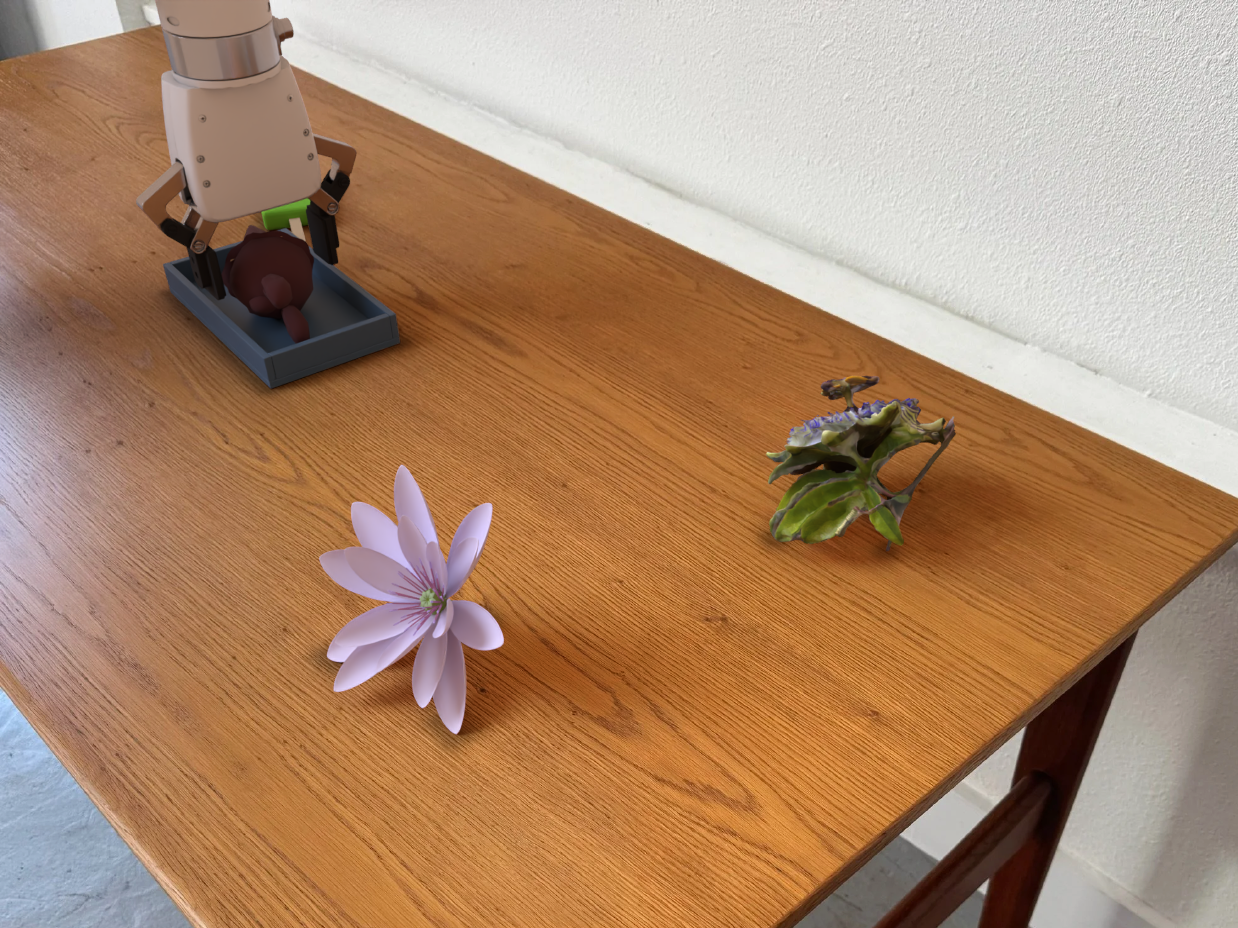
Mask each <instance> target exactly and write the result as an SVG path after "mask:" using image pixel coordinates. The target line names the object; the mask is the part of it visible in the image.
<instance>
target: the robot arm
mask: <svg viewBox="0 0 1238 928" xmlns="http://www.w3.org/2000/svg"><path fill="white" fill-rule="evenodd" d="M154 2H155V6H156V10H157V14H158V19H159V23H160V26H161V30H162V35H163V39H164V43H165V47H166V51H167V56H168V60H169V65H170V67H171V70H170V69H169V70H167V71H164V72H163V73H162V74H161V77H160V78H161V79H160V82H161V84H160V85H161V100H162V101H161V103H162V112H163V120H164V121H163V122H164V129H165V135H166V142H167V148H168V154H169V159H170V165H171V166H170V167H169V168H167V170H165V171H164V172H163V173H162V174H161V175H160V176H159V177H158V178H156V179H155V180H154V181H153V183H151V184H150V185H149V186H148V187H146V188H145V190H143V191H142V192H141V193H140V194H139V195H138V196H137V197H136V199H135V203H136V204H135V205H137V207H138V208H139V210H141V212H143V214H144V215H145V216H146V217H147V218H148V219H149V220H150V221H151V222H152V223H153V224H154V225H155V226H156V227H157V229H158V230H160V231H161V232H162V233H163V234H164V235H165V236H166V237H167V238H170V239H171V240H173V241H175V242H176V243H179V244H180V245H182V246H184V247H185V248H186V251H187V256H189V259H190V263H191V267H192V271H193V274H194V278H195V281H196V283H197V284H198V286H199V287H200V288H202V289H203V288H205V289H206V290H207V291H208V292H209V293H210V294H211V295H212V296H214V297H215V298H216V299H217V300H221V299H224V298H225V296H226V291H225V287H224V283H223V279H222V275H221V271H220V266H219V262H218V258H217V254H216V252H215V251H214V250H213V249H214V248H212V247H211V246H210V245H209V244H210V242H211V240H212V238H213V236H214V234H215V231H216V230H217V228H218V225H219V223H224V222H229V221H233V220H236V219H237V220H238V219H240V218H244V217H248V216H251V215H255V214H260V213H261V212H263V211H266V210H270V209H273V208H277V207H280V206H284V205H288V204H291V203H294V202H298V201H301V200H304V199H306V198H308V199H309V200H310V205H307V209H306V215H307V220H308V225H307V226H308V231H309V237H310V242H311V248H312V249H313V251H314V253H315V254H316V255H318V256H319V257H320V258H321V259H323V260H324V261H325V262H326V263H328V264H331V265H334V266H335V265H338V264H339V258H338V251H337V249H339V248H340V239H339V232H338V226H337V221H336V215H337V214H338V213H339V212H340V202H341V200H342V199H343V197H344V196H345V194H346V192H347V190H348V189H349V187H350V185H351V178H350V177H351V174H352V172H353V169H354V165H355V162H356V158H357V153H358V152H357V150H356V148H354V147H353V146H351V145H350V144H349V143H347V142H345V141H341V140H338V139H336V138H335V139H334V138H331V137H328V136H324V135H321V134H317V133H314V132H313V129H312V125H311V122H310V118H309V115H308V111H307V108H306V105H305V102H304V99H303V96H302V93H301V91H300V88H299V85H298V82H297V78H296V76H295V74H294V71H293V69H292V66H291V63H290V62H289V60H288V59H287V58H285V57H284V55H283V51H282V43H284V42H285V41H286V40H288V39H292V38H294V34H295V32H294V26H293V24H292V21H291V20H290V19H289V17H282V18H279V17H276V16H275V15H273V12H272V7H271V2H270V0H154ZM319 156H323V157H327V158H331V164H330V166H331V167H330V168H329V170H327V173H326V174H325V176H324V178H323V179H322V173H321V172H322V171H321V164H320V159H319ZM177 196H178V197H179V199H180V200H181V201H182V203H183V205H187V209H186V211H185V213H184V215H183V217H182V219H181V221H179V220H177V219H176V218H173V217H172V216H171V215H170V214H169V213H168V211H167V205H168V204H169V203H170V202H171V201H172V200H173V199H174V198H175V197H177Z"/></svg>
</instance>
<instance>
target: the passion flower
mask: <svg viewBox="0 0 1238 928" xmlns="http://www.w3.org/2000/svg"><path fill="white" fill-rule="evenodd" d="M879 383H880V376H878V375H873V376H871V375H862V376H861V375H850V376H848V377H846V376H845V377H843V378H840V379H835V378H834V379H828V380H825V381H823V382H822V383H821V384H820V389H821V392H820V395H821V396H822V397H827V399H828V401H829V400H830V401H834V400H839V399H840V400H841V399H843V398H844V400H845V402H846V408H845V409H844V410H843V411H842V412H839V411H837V410H836V411H835V413H832V412H831V411H827V414H828V416H820V415H819V414H817V415H816V416H815V417H813V418H812V419H800V421H801V422H804V423H803V426H792V427H791V429H790V431H789V433H788V435H789V437H787V440H785V441H786V444H784V449H785V450H782V451H779V452H770V451H767V452H765V456H766V457H767V458H768V459H769V460H771V461H773V462H774V463H778V465H777V466H776V467H774V469H773V470H772V472H771V473H770V474H769V476H768V480H767V483H768V485H772V484H773V482H775V481H776V480H778V479H779V478H781V477H783V476H788V475H791V476H798V477H797V479H796V481H795V482H793V483H792V485H790V487H788V489H787V490H786V491H785V492H784V494H783V496H782V498H781V500H780V501H779V503H778V505H777V507H776V508H775V513H773V515H772V517H771V518H770V519H769V522H768V525H769V531H770V533H771V534H770V535H771V536H772V537H773V538H774V540H775V541H776V542H779V543H787V542H793V541H801V542H802V543H804V544H806V545H815V544H819V543H822V542H826V541H828V540H831V539H833V538H835V537H836V536H837V537H838V538H843V537H844V536H845V535H846V532H847V529H848V527H850V526H851V525H852V524H853V523H855V522H856V520H857V519H858V518H859V517H861V516H863V515H868V519H869V522H870V523H871V525H873V528H874V530H875V531H877V533H879V534H880V535H882V537H884V538H885V539H886V540H888V541H887V544H886V548H885V552H889V551H890V550H891V546H892V543H893V544H895V545H897V546H900V547H901V546H903V545H904V542H905V540H904V537H903V534H902V531H901V528H900V523H901V520H902V517H903V515H904V511H905V510H906V509H907V507H908V506H909V504H910V502H911V501H912V498H913V494H914V492H915V490H916V488H917V486H918V485H919V484H920V482H921V481H922V480H923V479H924V477H925V476H926V474H927V472H928V471H929V470H930V468H931V467H932V466H933V464H934V463H935V462H936V460H937V459H938V458H939V457H940V456H941V454H942V453H943V452H944V451H945V450H946V449H947V448H948V447H949V445H950V443H951V441H952V440H953V439H954V437H956V435H957V433H956V430H955V427H956V424H955V422H954V419H955V416H954V415H953V416H952V417H951V418H950V420H948V422H947V421H946V419H945V417H941V418H938V419H937V420H935V421H933V422H928V423H927V422H926V423H923V422H920V421H919V420H917V419H918V418H919V415H920V413H921V412H922V408H920V407H919V406H917V405H919V403H920V400H919V399H918V398H916V397H914V398H913V397H912V398H911V397H908V398H906V399H904V400H902V401H901V400H900V399H899V398H894V399H892V400H891V401H889V402H888V403H886V402H885V400H879V399H876V400H875V402H874V403H870V401H866V402H865V401H864V402H862V405H861V407H858V406H857V405H856V404H855V402H854V399H853V398H854V394H855V393H860V392H863V391H865V390H867V389H869V388H872V387H874V386H876V385H877V384H879ZM945 424H946V426H945ZM944 426H945V427H944ZM922 443H926V444H931V445H934V446H937V445H938V444H939V443H940V446H939V448H938V449H937V450H936V451H935V452H934V453H932V456H931V457H930V458H929V459H928V461H927V462H926V464H925V465H924V467H923V468H922V469H921V470H920V471H919V473H918V474H917V475H916V477H915V478H914V479H913V481H912V482H911V483H910V484H909V485H907V486H906V487H905V488H903V489H901V490H899V491H891V490H890V489H888V488H887V487H886V486H885V485H884V484H883V482H882V481H881V480H880V479H879V477H878V474H879V472H880V470H881V468H883V466H885V465H886V464H887V463H888V462H889V461H890V460H891V459H892V458H893V457H894V456H895V455H896V454H898V453H899V452H901V451H904V450H906V449H909V448H911V447H915V446H918V445H920V444H922ZM779 463H780V464H779ZM821 466H822V469H821V468H819V467H821ZM881 495H882V496H881ZM884 497H885V498H886V499H885V498H884Z"/></svg>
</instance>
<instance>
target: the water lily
mask: <svg viewBox="0 0 1238 928" xmlns="http://www.w3.org/2000/svg"><path fill="white" fill-rule="evenodd" d="M396 471H397V472H396V474H395V478H394V484H393V504H394V509H395V514H396V518H397V522H398V523H395V522H394V521H393V520H392V519H391V518H390V517H389V516H388V515H386V514H385V513H383V511H381V510H380V509H378V508H376V507H375V506H373V505H372V504H368V503H367V502H362V501H354V502H352V503H351V507H350V514H351V515H350V516H351V522H352V527H353V530H354V533H355V535H356V537H357V540H358V542H359V543H360V545H361V546H349V547H348V546H347V547H345V549H333V550H330V551H326V552H324V553H322V554H320V556H319V558H318V560H319V563H320V565H321V567H322V569H323V570H324V572H325V573H326V574H327V575H328V577H329V578H331V580H333V581H334V582H335V583H336V584H338V585H339V586H341V587H342V588H344V589H346V590H347V591H350V592H351V593H354V594H357V595H359V596H363V597H364V598H368V599H372V600H376V601H380V602H386V603H385V604H384V603H383V604H381V605H378V606H375V607H374V608H371V609H369V610H367V611H365V612H363V613H361V614H359V615H358V616H356V617H354V618H353V619H351V620H350V621H348V622H347V623H346V624H345V625H344V626H343V627H342V628H341V629H340V630H339V631H338V632H337V633H336V634H335V636H334V638H333V639H332V641H331V643H330V644H329V645H328V649H327V653H326V658H328V660H330V661H332V662H337V663H342V664H341V665H340V668H339V670H338V671H337V673H336V677H335V679H334V683H333V692H336V693H340V692H345V691H348V690H351V689H353V688H357V686H359V685H361V684H364V683H365V682H367V681H368V680H370V679H372V678H374V677H375V676H377V675H378V674H380V673H381V672H383V671H384V670H385V669H387V668H389V667H391V666H392V665H393V664H395V663H397V662H398V661H399V660H401V659H402V658H403V657H405V656H406V655H407V654H408V653H410V652H411V651H412V650H413V649H414V648H415V647H416V646H417V645H418V644H419V643H420V642H421V643H420V645H419V647H418V649H417V653H416V655H415V657H414V658H415V659H414V662H413V665H412V666H413V667H412V675H411V687H412V693H413V696H414V699H415V701H416V703H417V705H418V706H419V707H420V708H421V709H425V708H426V707H428V705H429V703H430V702H431V700H432V698H433V702H434V706H435V709H436V711H437V714H438V716H439V718H440V720H441V721H442V723H443V725H445V727H446V728H447V729H448V730H449V731H450V732H451V733H452V734H454V735H458V734H459V732H460V731H461V728H462V725H463V722H464V716H465V711H466V702H467V668H466V661H465V654H464V650H463V645H462V644H464V645H465V646H467V647H469V648H470V649H473V650H479V651H490V650H491V651H492V650H496V649H498V648H501V647H502V646H503V645H504V643H505V638H504V634H503V631H502V629H501V626H500V624H499V623H498V622H497V620H496V619H495V617H494V616H493V615H492V613H490V611H488V610H487V609H486V608H484V607H483V606H482V605H479V604H478V603H477V602H475V601H472V600H465V599H457V600H456V599H454V600H453V599H450V598H451V597H452V596H454V595H455V594H456V593H458V592H459V591H460V590H461V589H462V587H463V586H464V585H465V584H466V582H467V581H468V579H469V578H470V576H471V575H472V573H473V571H474V570H475V568H476V566H477V565H478V564H479V561H480V559H481V557H482V554H483V552H484V550H485V547H486V544H487V541H488V537H489V534H490V529H491V526H492V525H491V524H492V519H493V510H494V509H493V507H494V506H493V504H492V503H491V502H485V503H482V504H480V505H478V506H476V507H474V508H473V509H472V510H470V511H469V512H468V513H467V514H466V516H464V518H463V519H462V520H461V522H460V524H459V525H458V527H457V529H456V531H455V533H454V535H453V538H452V541H451V544H450V548H449V552H448V555H447V560H446V559H445V556H444V554H443V552H442V550H441V546H440V545H441V544H440V539H439V535H438V530H437V527H436V523H435V520H434V518H433V515H432V512H431V510H430V507H429V503H428V502H427V500H426V497H425V495H424V492H423V491H422V489H421V488H420V485H419V484H418V482H417V481H416V479H415V477H414V475H413V474H412V473H411V472H410V470H409V469H408V468H407V467H406V466H405V465H404V464H400V466H399V467H398V469H397V470H396Z"/></svg>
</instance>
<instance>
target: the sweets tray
mask: <svg viewBox="0 0 1238 928" xmlns="http://www.w3.org/2000/svg"><path fill="white" fill-rule="evenodd" d="M277 231H282V232H285V233H287V234H289V235H291V236H293V237H296V238H298V237H297V236H296V235H294V234H293V233H292V231H290V230H289V228H283V229H277ZM242 241H243V240H240V241H237V242H234V243H230V244H227V245H224V246H220V247H216V248H212V249H213V250H214V251H215V252H216V254H217V258H218V262H219V266H220V271H221V274H222V271H223V269H224V266H225V260H226V257H227V254H228V253H229V251H230V250H231V249H232V248H234V247H235V246H236V245H238V244H239V243H241V242H242ZM308 246H309V249H310V253H311V254H312V255H313V257H314V264H313V269H312V280H313V291H312V293H311V295H310V296H309V298H308V300H307V301H306V303H305V304H304V306H303V308H302V309H301V311H300V312H301V313H302V314H303V316H304V317H305V319H306V320H307V322H308V325H309V333H310V339H309V340H306V341H303V342H300V343H297V344H296V343H295V342H294V341H293V340H292V338H291V337H290V335H289V333H288V332H287V329H286V326H285V323H284V320H283V319H274V318H267V317H260V316H257V315H255V314H252V313H249V311H248V309H247V307H246V306H245V305H243V304H242V303H241V302H240V301H239V300H238V299H237V298H235V297H233V296H231V295H230V294H229V291H228V289H227V287H226V286H225V285H224V287H225V291H226V296H225V298H224V299H221V300H217V299H216V298H215V297H214V296H212V295H211V294H210V293H209V292H208V291H207V290H206V289H205V288H203V289H202V288H200V287H199V286H198V284H197V283H196V281H195V278H194V274H193V271H192V267H191V263H190V259H189V255H187V256H185V257H182V258H179V259H175V260H171V261H169V262H165V263H163V264H162V267H163V270H164V274H165V278H166V281H167V286H168V289H169V291H170V293H171V294H172V295H173V296H174V297H175V298H176V299H177V300H178V301H179V302H180V303H181V304H182V305H183V306H184V307H185V309H187V310H188V311H189V312H191V313H192V314H193V316H194V317H196V319H198V320H199V321H200V322H201V323H202V324H203V325H204V326H205V327H206V328H207V329H208V330H209V331H210V332H211V333H212V334H213V335H214V336H215V337H216V338H218V340H219V341H221V343H223V344H224V345H225V346H226V347H227V348H228V350H230V351H231V352H232V353H233V354H234V355H235V356H236V357H237V358H238V359H239V360H240V361H241V362H242V363H243V364H244V365H246V366H247V368H249V370H251V371H252V372H253V373H254V374H255V375H256V376H257V378H259V379H260V380H261V381H262V382H263V383H264V384H265V385H266V386H267V387H268V388H269V389H275V388H277V387H280V386H283V385H286V384H289V383H291V382H294V381H297V380H299V379H303V378H305V377H309V376H311V375H314V374H317V373H319V372H322V371H325V370H328V369H332V368H333V367H336V366H339V365H343V364H345V363H347V362H351V361H354V360H356V359H359V358H362V357H364V356H368V355H370V354H373V353H377V352H380V351H382V350H385V349H387V348H390V347H393V346H396V345H398V344H400V343H401V339H400V333H399V332H400V331H399V327H398V326H399V325H398V319H397V313H395V311H393V310H391V308H390V307H388V306H387V305H385V304H384V303H383V302H382V301H381V300H379V299H378V298H376V296H374V295H373V294H371V293H370V292H368V291H367V290H366V289H365V288H363V287H362V286H361V285H359V284H358V283H357V282H356V281H355V280H353V279H352V278H351V277H350V276H348V275H347V274H346V273H344V272H343V271H341V269H339V268H338V267H337V266H335V265H331V264H328V263H326V262H325V261H324V260H323V259H321V258H320V257H319V256H318V255H316V254H315V253H314V251H313V247H312V246H310V245H308Z"/></svg>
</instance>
